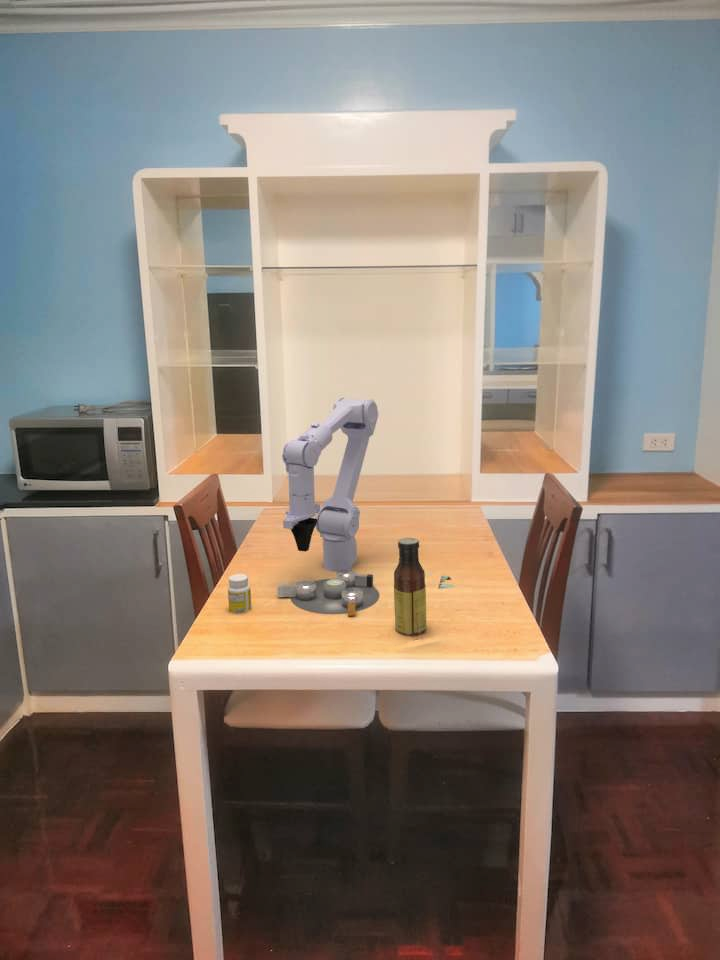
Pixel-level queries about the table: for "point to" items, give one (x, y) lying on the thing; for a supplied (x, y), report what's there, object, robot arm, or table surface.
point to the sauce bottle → (409, 590)
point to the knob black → (355, 578)
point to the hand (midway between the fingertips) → (303, 550)
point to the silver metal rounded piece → (298, 590)
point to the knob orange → (352, 599)
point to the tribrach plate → (334, 604)
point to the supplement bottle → (239, 594)
